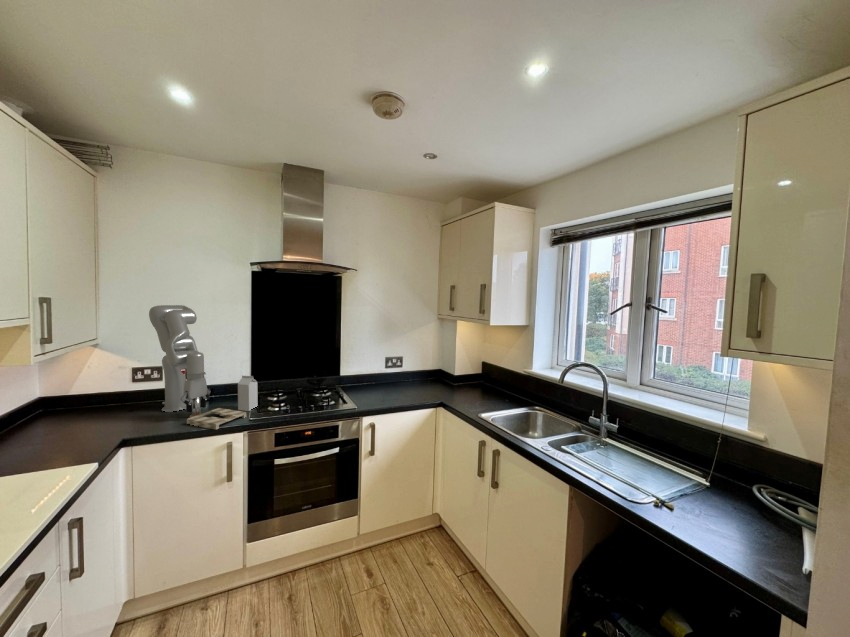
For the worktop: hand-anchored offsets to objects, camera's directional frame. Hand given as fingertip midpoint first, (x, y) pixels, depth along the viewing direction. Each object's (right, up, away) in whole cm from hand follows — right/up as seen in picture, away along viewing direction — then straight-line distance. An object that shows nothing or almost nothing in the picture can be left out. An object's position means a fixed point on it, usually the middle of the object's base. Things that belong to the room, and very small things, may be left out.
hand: (196, 409), depth 178 cm
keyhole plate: (+14, -5, -4) cm, 15 cm away
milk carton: (+19, -4, +15) cm, 25 cm away
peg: (0, -4, 0) cm, 4 cm away
